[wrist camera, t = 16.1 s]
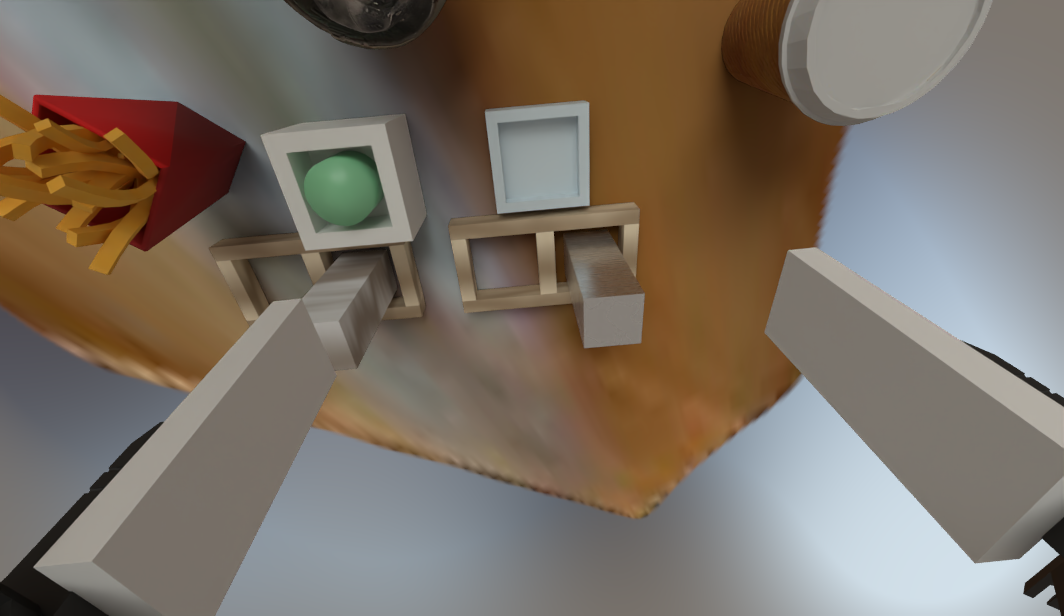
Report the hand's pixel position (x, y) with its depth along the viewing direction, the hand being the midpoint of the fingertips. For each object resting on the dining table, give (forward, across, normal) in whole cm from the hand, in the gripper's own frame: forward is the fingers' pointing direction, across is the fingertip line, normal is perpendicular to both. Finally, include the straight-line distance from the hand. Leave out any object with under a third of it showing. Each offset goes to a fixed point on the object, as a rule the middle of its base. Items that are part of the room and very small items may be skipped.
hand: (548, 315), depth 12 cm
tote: (+25, +2, -1) cm, 25 cm away
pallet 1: (+25, -19, -10) cm, 33 cm away
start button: (+22, -13, -1) cm, 25 cm away
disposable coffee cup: (+25, +18, +6) cm, 32 cm away
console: (+25, -12, -1) cm, 28 cm away
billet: (+25, +5, -10) cm, 27 cm away
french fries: (+26, -24, +3) cm, 36 cm away
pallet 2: (+25, +1, -10) cm, 27 cm away
